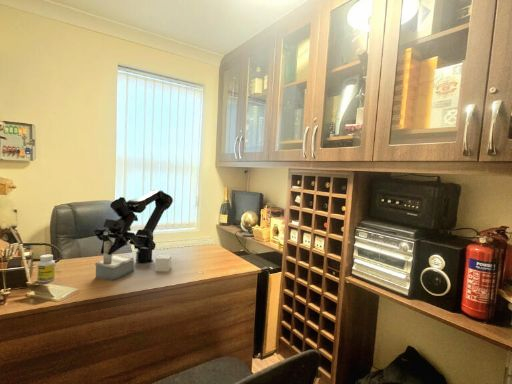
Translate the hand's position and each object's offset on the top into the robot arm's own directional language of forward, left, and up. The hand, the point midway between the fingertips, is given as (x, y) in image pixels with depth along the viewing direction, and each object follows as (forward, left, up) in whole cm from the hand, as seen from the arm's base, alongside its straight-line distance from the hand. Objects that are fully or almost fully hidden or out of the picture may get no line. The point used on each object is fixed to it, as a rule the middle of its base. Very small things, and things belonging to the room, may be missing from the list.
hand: (105, 253), depth 113 cm
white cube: (-25, 0, -11) cm, 27 cm away
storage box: (-5, -4, -11) cm, 12 cm away
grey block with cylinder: (-5, -3, -5) cm, 8 cm away
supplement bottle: (+18, -11, -11) cm, 24 cm away
